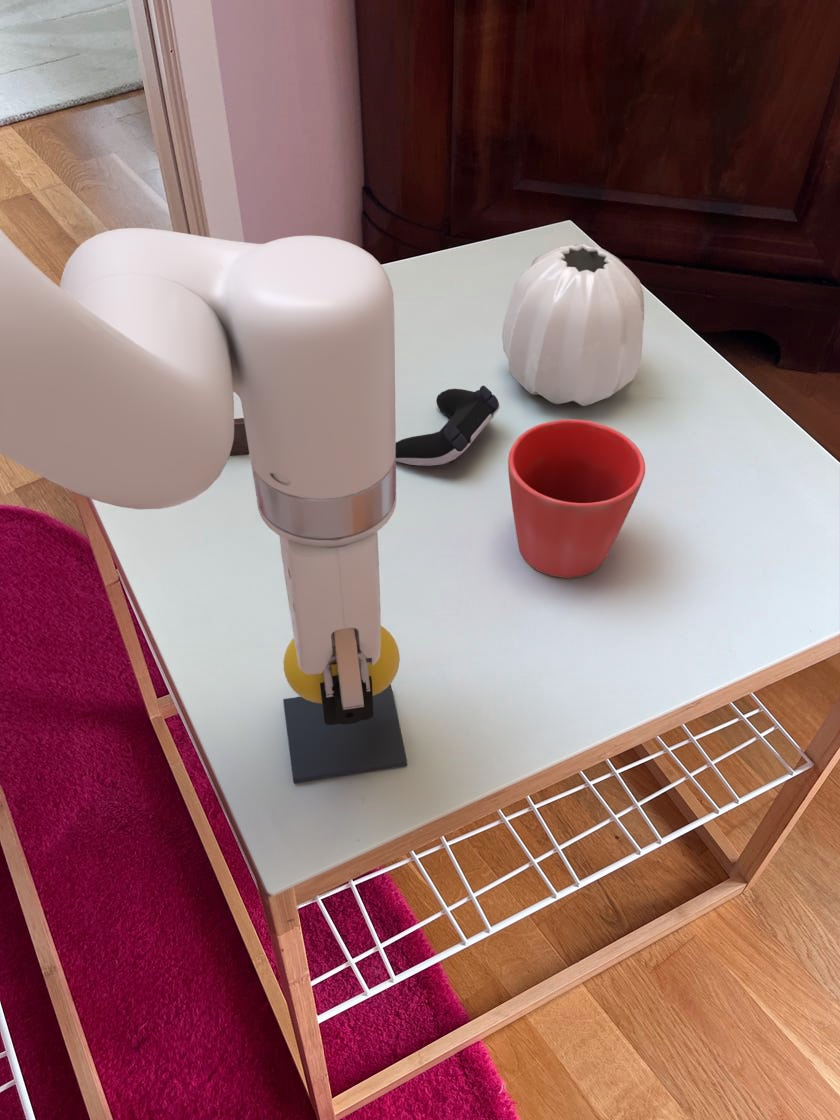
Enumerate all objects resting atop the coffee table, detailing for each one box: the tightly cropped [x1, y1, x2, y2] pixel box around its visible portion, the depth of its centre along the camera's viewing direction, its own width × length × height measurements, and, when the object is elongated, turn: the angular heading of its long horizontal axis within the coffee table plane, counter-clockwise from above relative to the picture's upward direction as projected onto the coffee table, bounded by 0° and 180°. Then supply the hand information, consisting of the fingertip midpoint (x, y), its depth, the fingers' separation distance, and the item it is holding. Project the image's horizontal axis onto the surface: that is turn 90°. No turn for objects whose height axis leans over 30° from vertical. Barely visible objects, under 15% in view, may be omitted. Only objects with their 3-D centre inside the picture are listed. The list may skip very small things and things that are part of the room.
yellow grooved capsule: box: [283, 625, 401, 704], centre depth 65 cm, size 8×5×5 cm
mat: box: [282, 683, 408, 784], centre depth 71 cm, size 8×7×1 cm
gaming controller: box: [396, 385, 501, 467], centre depth 91 cm, size 11×4×7 cm
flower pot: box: [507, 419, 646, 579], centre depth 81 cm, size 11×11×10 cm
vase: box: [501, 243, 645, 407], centre depth 95 cm, size 14×14×13 cm
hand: (342, 681), depth 66 cm, fingers closed on yellow grooved capsule, 5 cm apart
